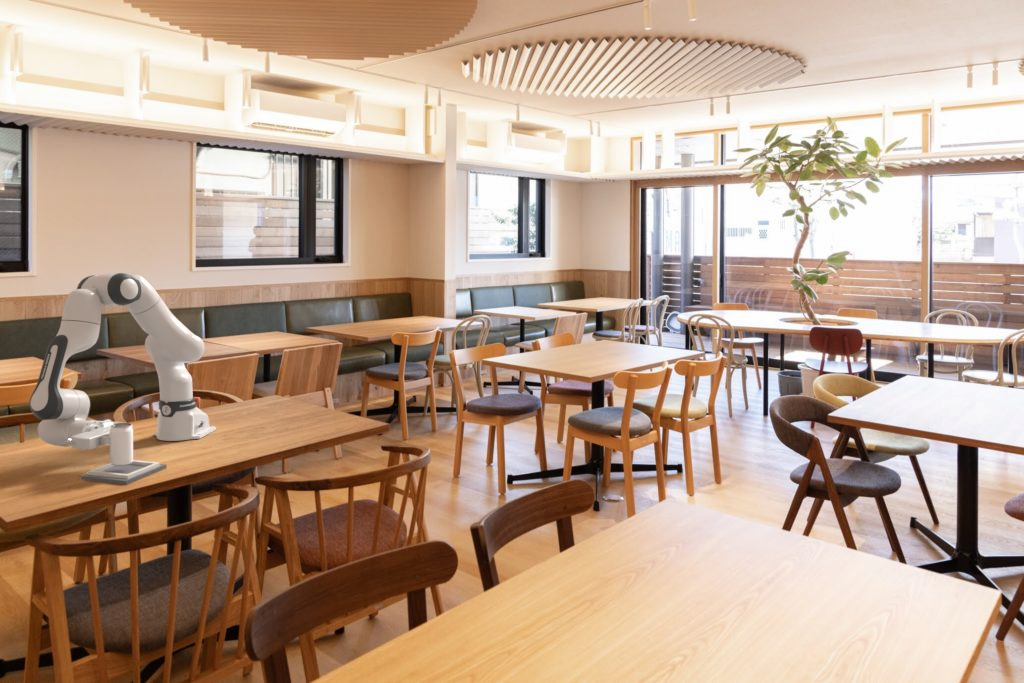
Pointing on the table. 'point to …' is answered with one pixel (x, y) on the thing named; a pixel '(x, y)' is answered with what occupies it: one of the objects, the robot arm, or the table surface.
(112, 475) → the grey rimmed tray
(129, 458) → the can
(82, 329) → the robot arm
